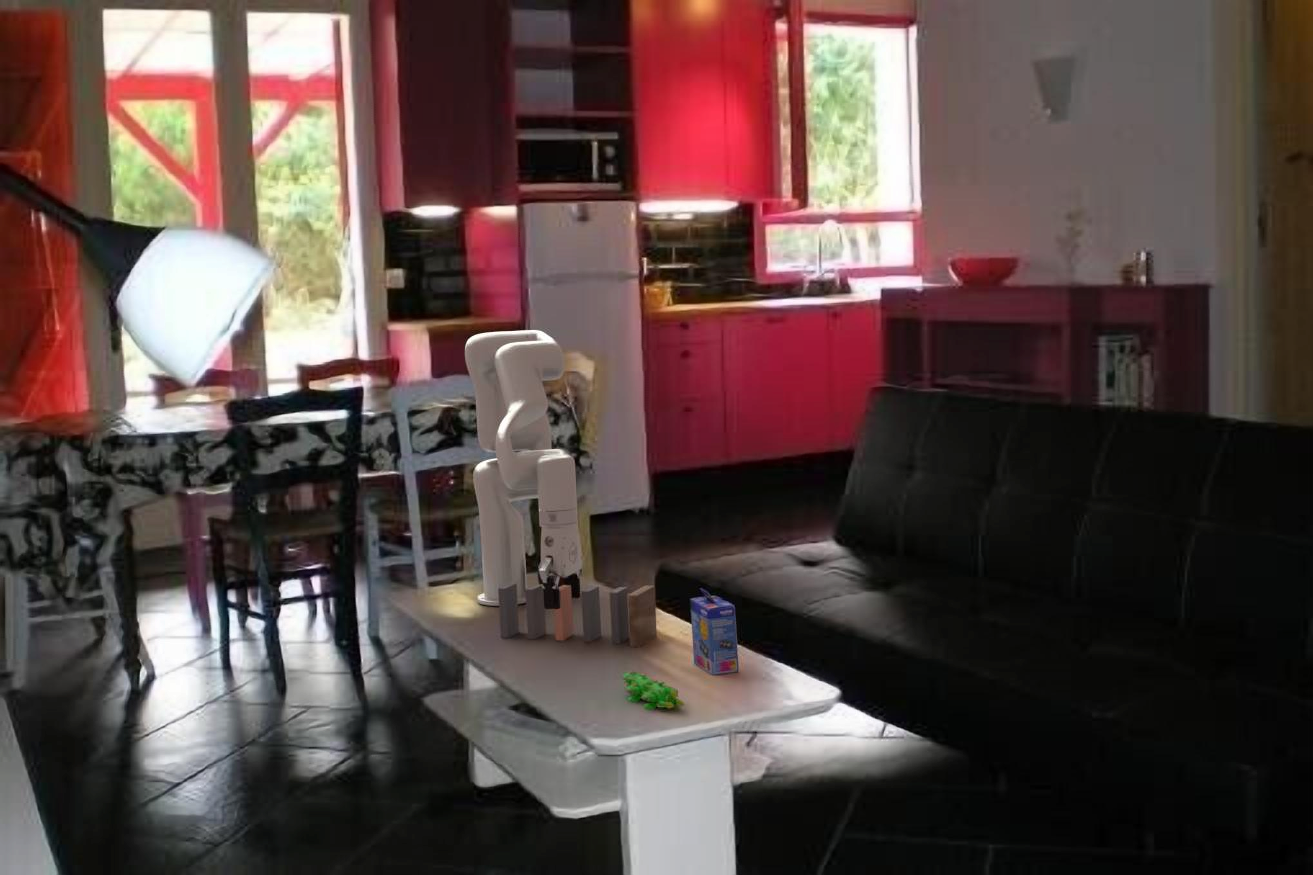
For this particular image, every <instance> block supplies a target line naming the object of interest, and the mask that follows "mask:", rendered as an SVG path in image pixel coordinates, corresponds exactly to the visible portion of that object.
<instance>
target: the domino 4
mask: <svg viewBox="0 0 1313 875" xmlns="http://www.w3.org/2000/svg"><path fill="white" fill-rule="evenodd" d="M580 597H581V609H582V611H581V612H582V613H581V614H582V631H583V633H582V636H583V637H582V638H583V642H584V643H592V642H594V641H596V640H597V639H599V638H600V637H602V626H601V624H602V623H601V608H600V607H601V604H600V603H601V602H600V586H599V585H597V586H596V585H592V586H588V587H587V588H585V589H584V590H583V589H582V590H580Z"/></svg>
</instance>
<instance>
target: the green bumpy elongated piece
mask: <svg viewBox="0 0 1313 875" xmlns="http://www.w3.org/2000/svg"><path fill="white" fill-rule="evenodd" d="M621 678H622V679H623V680H624V684H626V687H625V689H624V691H625V692H626V693H629V694H632V695H631V696H629V697H628V699H627V700H628V701H630V702H635V703H636V702H637V703H638V702H639V701H640V700H641V699H642V700H643V701H647V703H645V704H644V706H643V708H644V709H647V710H648V709H649V710H655V709H656V707H658V708H667V709H672V708H674V707H675V706H678V707H682V706H684V701H682V699H679V690H677V689H676V688H674V687H672V686H670V685H669V684H665V682H664V681H658V680H657V679H656V680H653V679H650V678H648V676H647V674H645V673H642V674H641V673H638V672H637V671H635V670H633V669H632V670H631V669H630V671H627V672H625V673H623V674H622V675H621Z"/></svg>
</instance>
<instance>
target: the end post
mask: <svg viewBox="0 0 1313 875" xmlns="http://www.w3.org/2000/svg"><path fill="white" fill-rule="evenodd" d="M655 589H656V588H655V585H644V586H642V587H640V588H638V589H636V590H634V591H633V592H631V593H629V594H627V598H628V618H629V644H630V646H629V647H630V648H631V647H632V648H633V647H634V648H635V647H636V648H641V647H642V646H644V645H646V644H647V643H649V641H651V640H653V639H655V638H656V637H657V636H658V635H657V634H658V630H657V612H656V611H657V610H656V609H657V608H656V590H655ZM655 636H656V637H655Z"/></svg>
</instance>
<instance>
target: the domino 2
mask: <svg viewBox="0 0 1313 875" xmlns="http://www.w3.org/2000/svg"><path fill="white" fill-rule="evenodd" d="M525 590H526V603H525V604H526V605H525V606H526V607H525V608H526V623H527V640H537V639H539V638H540V637H543V636H544V635H546V634H547V625H546V609H545V608H544V594H543V588H542V584H539V583H537V584H533V585H531V586H529V587H527V589H525Z"/></svg>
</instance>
